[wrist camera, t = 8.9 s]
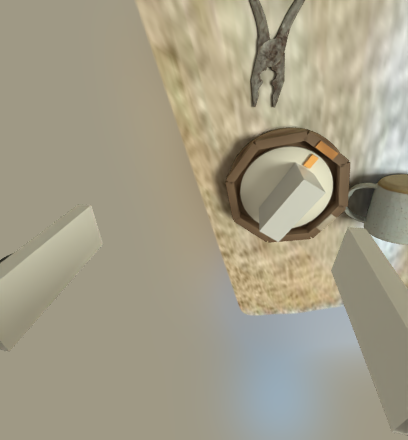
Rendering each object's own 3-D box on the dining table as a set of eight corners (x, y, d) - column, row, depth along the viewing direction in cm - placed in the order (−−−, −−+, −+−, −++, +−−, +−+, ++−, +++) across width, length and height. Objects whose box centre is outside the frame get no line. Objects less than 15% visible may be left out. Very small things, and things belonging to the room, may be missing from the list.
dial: (290, 238, 41) (297, 269, 35) (225, 200, 40) (219, 224, 33) (352, 176, 34) (376, 199, 28) (275, 127, 33) (280, 138, 26)
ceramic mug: (427, 169, 33) (467, 190, 27) (410, 219, 37) (441, 248, 31) (344, 173, 36) (362, 194, 30) (336, 220, 40) (351, 246, 34)
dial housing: (218, 141, 37) (215, 147, 34) (346, 114, 32) (356, 118, 29) (237, 236, 45) (236, 247, 42) (342, 226, 40) (349, 238, 37)
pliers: (339, -143, 22) (327, 97, 31) (337, -136, 22) (326, 96, 32) (235, -99, 24) (252, 111, 33) (235, -94, 25) (253, 110, 34)
